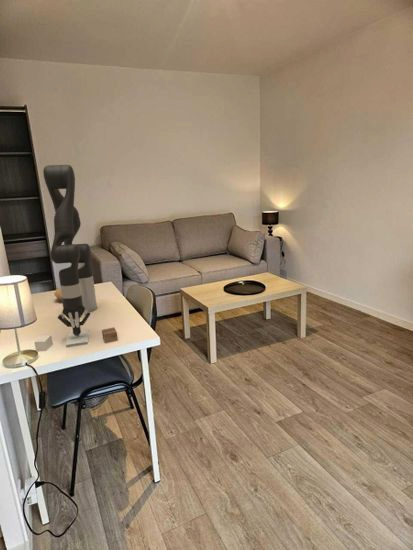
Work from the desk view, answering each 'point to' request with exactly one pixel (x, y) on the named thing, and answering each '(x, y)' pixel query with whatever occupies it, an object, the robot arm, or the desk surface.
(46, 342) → the grey plastic block
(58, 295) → the tan rounded lump
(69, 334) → the hard drive
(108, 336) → the walnut block
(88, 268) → the robot arm
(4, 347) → the desk surface
